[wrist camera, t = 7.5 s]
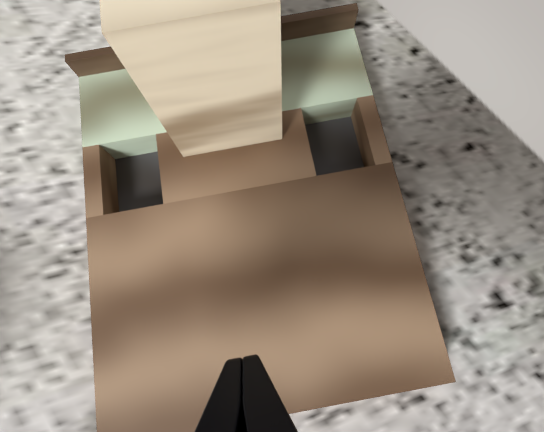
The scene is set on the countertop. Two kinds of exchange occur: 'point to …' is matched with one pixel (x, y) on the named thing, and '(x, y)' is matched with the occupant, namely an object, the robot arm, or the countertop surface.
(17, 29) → the countertop surface
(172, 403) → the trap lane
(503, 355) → the countertop surface
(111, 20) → the birch block
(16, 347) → the countertop surface
